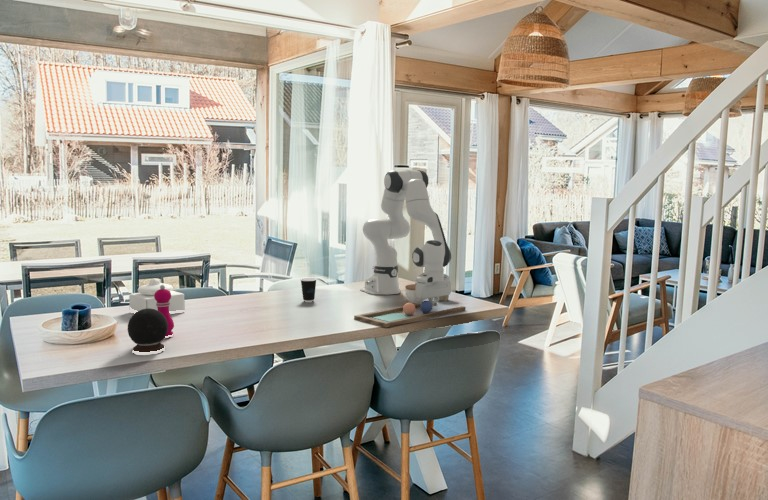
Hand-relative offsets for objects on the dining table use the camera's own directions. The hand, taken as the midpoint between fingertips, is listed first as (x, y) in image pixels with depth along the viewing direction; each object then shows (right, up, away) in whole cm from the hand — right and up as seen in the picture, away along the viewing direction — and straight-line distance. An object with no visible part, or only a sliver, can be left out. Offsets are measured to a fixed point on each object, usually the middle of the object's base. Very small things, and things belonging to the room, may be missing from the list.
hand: (433, 306), depth 288 cm
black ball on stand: (-104, -10, -67) cm, 125 cm away
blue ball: (-4, 0, -6) cm, 7 cm away
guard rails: (-10, -3, -9) cm, 13 cm away
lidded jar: (-7, 0, +20) cm, 21 cm away
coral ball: (-11, 0, -10) cm, 15 cm away
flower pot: (+6, +1, +25) cm, 25 cm away
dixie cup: (-59, +1, +21) cm, 63 cm away
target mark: (-18, -4, -16) cm, 24 cm away
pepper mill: (-106, -7, -48) cm, 116 cm away
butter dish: (-124, -3, -5) cm, 124 cm away
